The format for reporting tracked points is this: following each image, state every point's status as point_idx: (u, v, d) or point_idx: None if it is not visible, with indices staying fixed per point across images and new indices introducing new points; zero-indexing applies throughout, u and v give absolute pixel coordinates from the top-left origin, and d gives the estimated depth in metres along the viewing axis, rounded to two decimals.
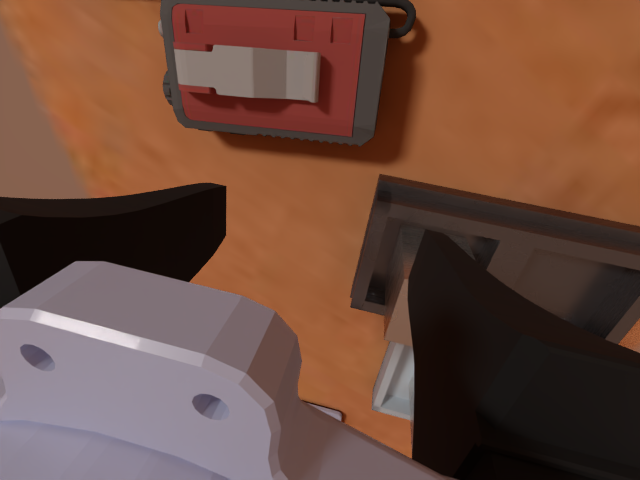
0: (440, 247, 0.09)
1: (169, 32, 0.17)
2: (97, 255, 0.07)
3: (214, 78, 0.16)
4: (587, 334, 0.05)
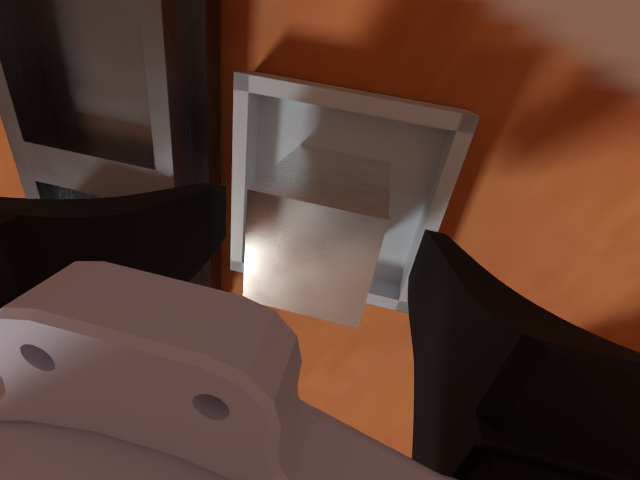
0: (440, 247, 0.09)
1: None
2: (97, 255, 0.07)
3: None
4: (587, 334, 0.05)
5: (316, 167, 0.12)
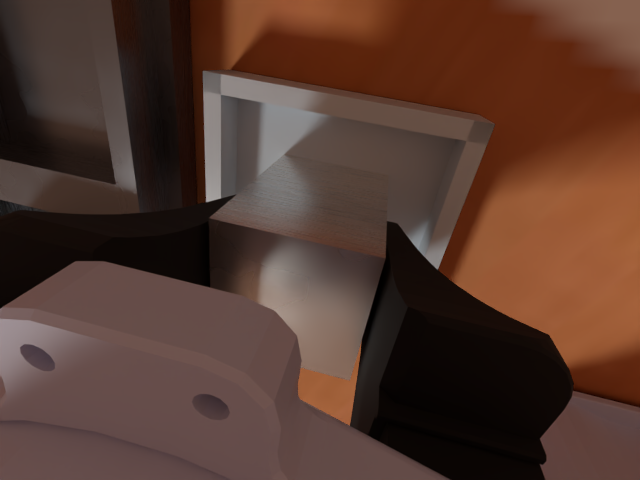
0: None
1: None
2: (167, 272, 0.07)
3: None
4: (492, 311, 0.06)
5: (299, 184, 0.10)
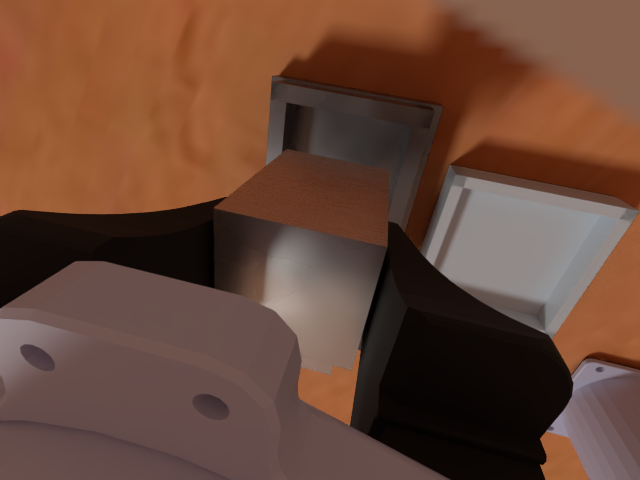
0: None
1: None
2: (167, 272, 0.07)
3: None
4: (491, 311, 0.06)
5: (302, 177, 0.10)
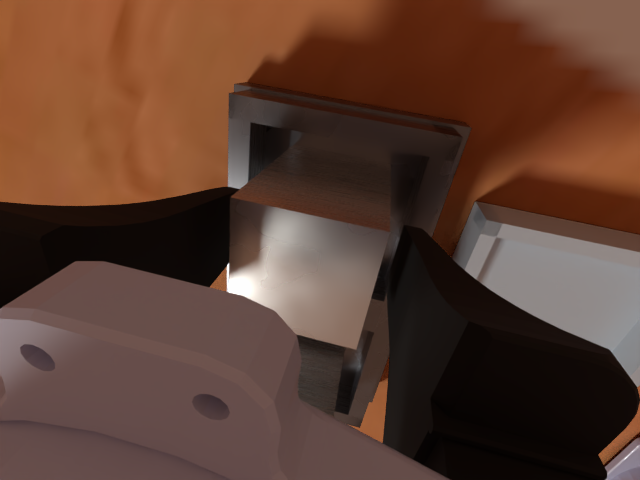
0: (414, 241, 0.09)
1: None
2: (129, 263, 0.07)
3: None
4: (542, 323, 0.05)
5: (309, 171, 0.11)
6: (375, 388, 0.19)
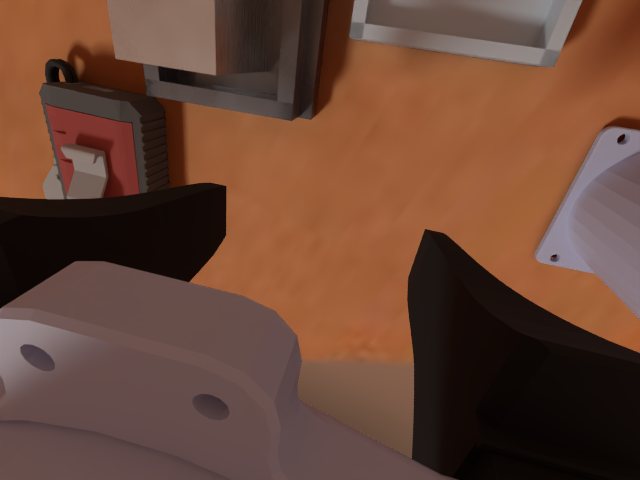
0: (440, 247, 0.09)
1: None
2: (97, 255, 0.07)
3: None
4: (587, 334, 0.05)
5: None
6: (312, 93, 0.17)
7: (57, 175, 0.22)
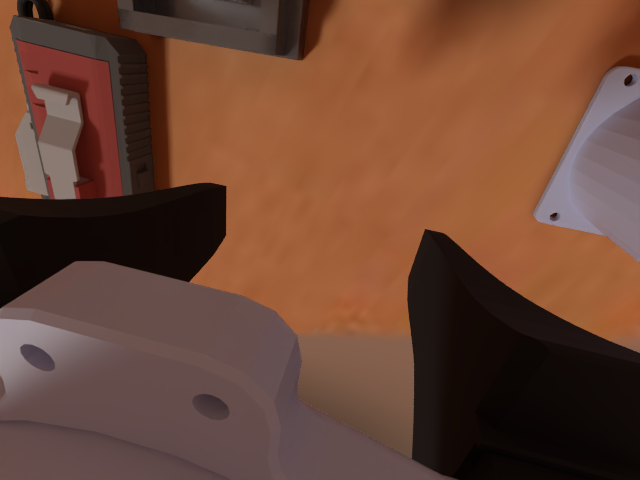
0: (440, 247, 0.09)
1: None
2: (97, 255, 0.07)
3: (66, 180, 0.20)
4: (587, 334, 0.05)
5: None
6: (298, 30, 0.16)
7: (30, 123, 0.21)
